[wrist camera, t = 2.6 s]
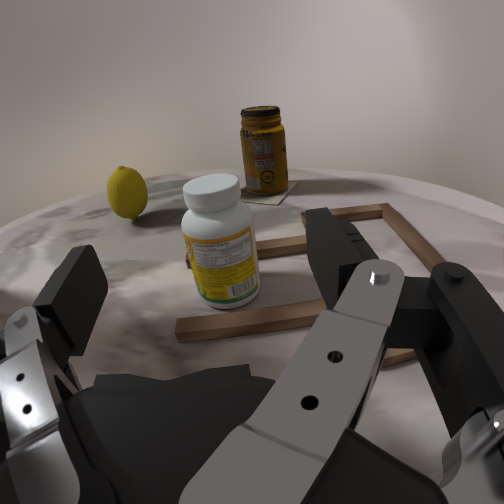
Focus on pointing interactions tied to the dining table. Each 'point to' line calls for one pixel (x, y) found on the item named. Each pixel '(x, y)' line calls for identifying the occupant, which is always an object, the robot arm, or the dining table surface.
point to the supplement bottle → (220, 241)
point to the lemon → (127, 193)
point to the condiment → (264, 156)
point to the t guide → (308, 310)
